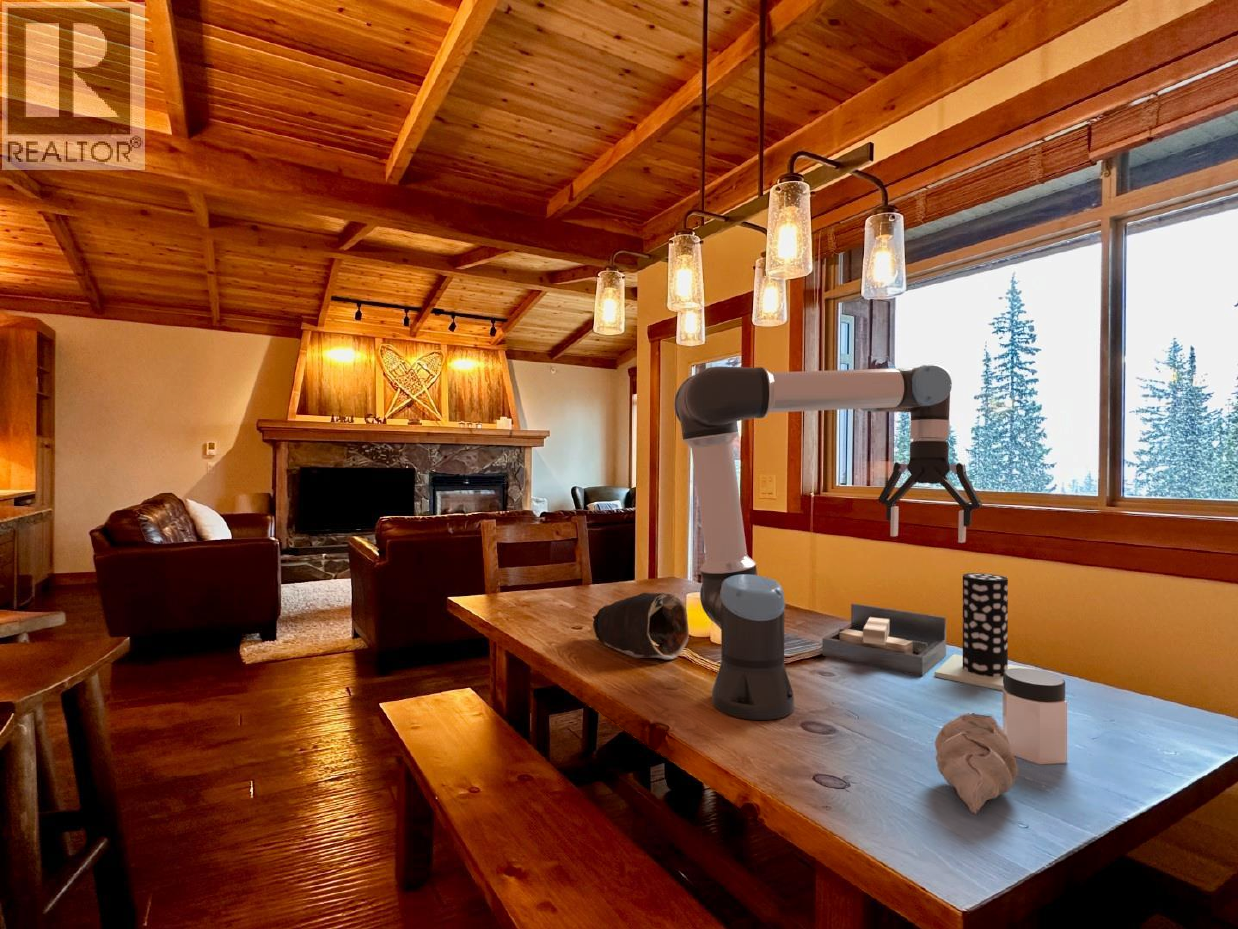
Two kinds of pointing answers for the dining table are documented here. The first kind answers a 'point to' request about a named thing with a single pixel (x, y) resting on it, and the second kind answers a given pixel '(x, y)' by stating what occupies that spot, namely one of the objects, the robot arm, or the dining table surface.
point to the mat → (969, 674)
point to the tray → (903, 625)
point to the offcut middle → (890, 644)
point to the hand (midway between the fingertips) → (926, 539)
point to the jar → (1035, 715)
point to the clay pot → (644, 625)
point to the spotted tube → (985, 624)
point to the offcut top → (876, 631)
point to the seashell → (975, 758)
